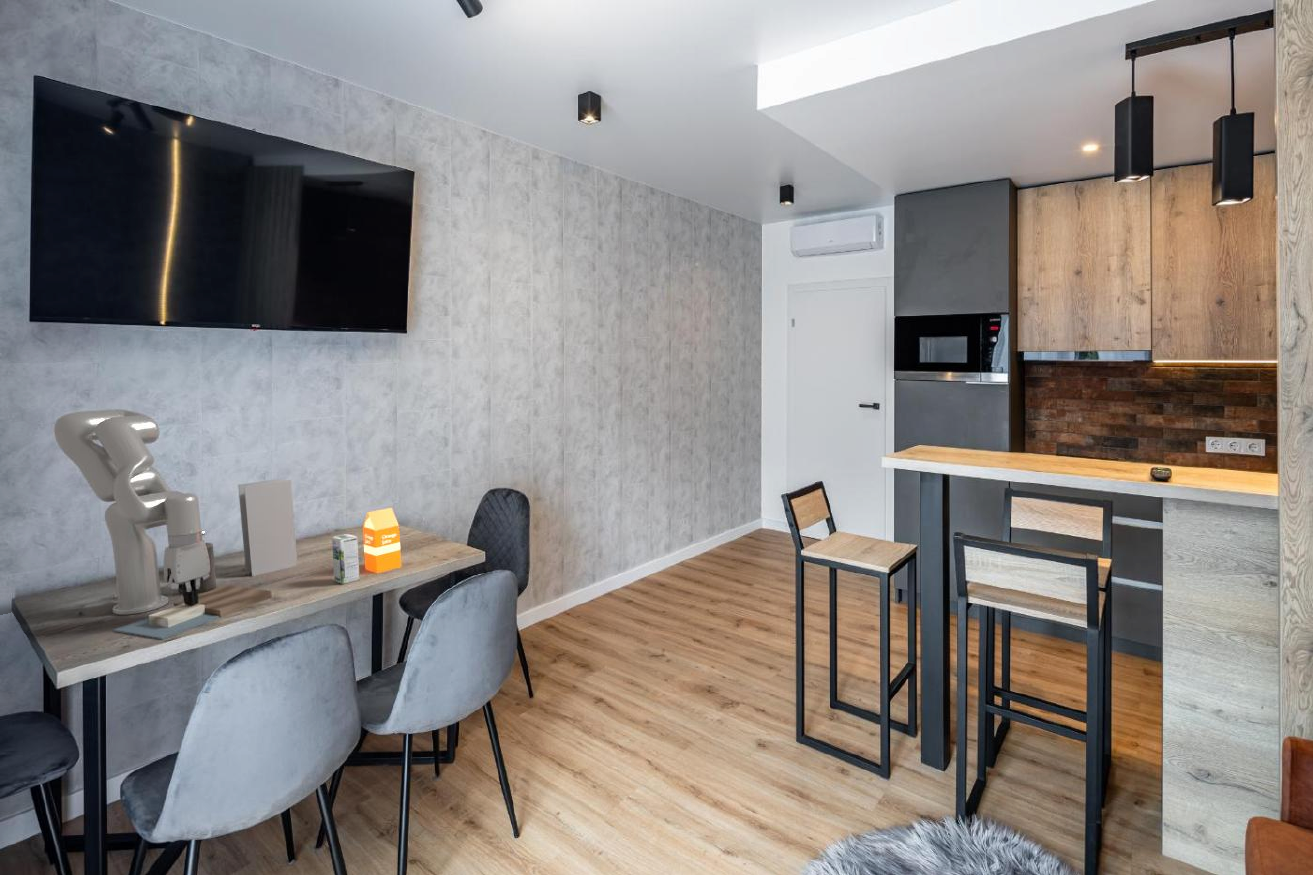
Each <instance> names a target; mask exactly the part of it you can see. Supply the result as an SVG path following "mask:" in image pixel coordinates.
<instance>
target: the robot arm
mask: <svg viewBox="0 0 1313 875" xmlns="http://www.w3.org/2000/svg"><path fill="white" fill-rule="evenodd" d="M53 428H54V429H53V430H54V431H53V432H54V437H55V441H56V442H57V445H58V447H59V448H60V449H61V451H62V452H63V453H64V455H66V456H67V457H68V458H69V460H71V461H72V462H73V463H74V464H75V466H76V467H77V468H78V469H79V471H80V473H81V475H83V477H84V478H85V480H86V482H87V483H88V486H89V487H90V488H91V489H92V491H93V493H94V495H95V496H96V497H97V498H98V499H100V500H101V501H102V502H104V503H105V502H106V503H111V502H112V503H111V504H110V505H109V506H108V507H107V508H106V510H105V511H104V521H105V524H106V527H107V530H108V533H109V536H110V540H111V545H112V551H113V559H114V569H115V575H116V576H115V577H116V587H117V593H115V594H114V595H113V598H114V599H117V601H118V603H117V604H115V605H114V606H113V608H112V613H113V614H116V615H123V616H124V615H136V614H141V613H145V612H146V613H147V612H150V611H153V610H156V609H159V608H162V607H164V606H165V605H167V603H169V597H167V596H166V595H162V592H161V583H160V581H161V580H160V574H159V573H160V572H159V563H158V555H157V553H158V552H157V546H156V543H155V541H154V539H153V538H152V537H151V536H150V535H149V534H147V533H146V531H147V530H149V529H153V528H154V529H155V528H157V527H158V528H159V527H163V526H166V533H167V543H168V546H166V547H165V550H164V554H163V579H164V583H165V582H166V583H168V585H167V588H168V589H171V590H174V589H176V590H178V589H180V590H181V591H183V594H182V598H183V600H184V603H185V604H186V605H194V604H198V595H199V593H198V589H199V588H200V584H201V583H202V581H203V580H205V579H207V578H208V577H209V576H210V575H209V572H210V561H209V555H208V551H207V547H206V544H205V543H206V541H205V540H203V536H205V535H206V532H205V530H202V526H201V525H202V524H201V523H202V522H201V514H200V503H199V502H200V501H199V497H198V495H196V494H194V493H184V492H181V491H178V490H172V489H171V487H169V485H168V484H167V483H166V481H165V479H164V478H163V476H162V474H161V473H160V472H159V470H157V469H156V468H154V467H153V464H154V462H155V458H154V456H153V454H152V453H151V451H150V450H149V449H148V447H147V445H148V444H152V443H155V442H156V441H157V440H158V439H159V437H160V433H161V432H160V427H159V425H158V423H157V422H156V421H155V420H154V419H153V418H152V417H150V416H149V415H147V414H144V413H139V412H135V411H131V410H128V409H103V410H86V411H76V412H75V411H74V412H70V413H67V414H64V415H62V416H60V417H59V418H57V419H56V421H55V423H54V427H53ZM94 441H99V442H100V444H101V445H100V444H97V443H95V442H94Z"/></svg>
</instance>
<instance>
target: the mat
mask: <svg viewBox="0 0 1313 875" xmlns="http://www.w3.org/2000/svg"><path fill="white" fill-rule="evenodd" d="M219 618H220V617H219V616H215V615H208V614H203V615H200V616H198V617H195V618H192V619H189V620H187V621H184V622H181V623H179V624H176V625H173V626H171V627H163V626H156V625H150V622H149V617H146V618H144V619H141V620H137V621H135V622H132V623H128V624H127V625H124V626H121V627H117V628H115V629H113V632H114V633H120V634H121V633H122V634H126V635H132V634H134V635H133V636H137V635H142V636H141V637H143V636H147V637H146V638H149V637H152V638H151V639H155V638H157V639H156V640H161V641H163V640H165V638H166V639H169V638H170V636H171V637H173V636H172V635H174V634H176V635H178V634H181V633H184V632H186V631H188V630H191V629H194V628H196V626H197V627H199V626H201V624H202V625H204V624H206V623H205V622H207V623H209V622H208V621H210V620H212V619H215V620H217V619H219ZM212 621H213V620H212ZM210 622H211V621H210ZM203 623H204V624H203ZM198 625H199V626H198ZM174 636H175V635H174Z"/></svg>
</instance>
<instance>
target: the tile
mask: <svg viewBox="0 0 1313 875" xmlns="http://www.w3.org/2000/svg"><path fill="white" fill-rule="evenodd" d="M203 614H205V606H204V605H202V604H194V605H186V604H185V603H183V604H180V605H177V606H174V605H173V606H172V607H169V608H166V609H164V610H160V611H158V612H155V613H152V614H149V615H148V618H149V622H150V625H156V626H163V627H171V626H173V625H176V624H179V623H181V622H184V621H187V620H189V619H192V618H195V617H198V616H200V615H203Z"/></svg>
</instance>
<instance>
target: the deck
mask: <svg viewBox="0 0 1313 875" xmlns="http://www.w3.org/2000/svg"><path fill="white" fill-rule="evenodd" d="M271 598H273V597H272V590H267V589H265V590H264V589H259V588H251V587H243V586H237V585H236V586H235V585H230V584H229V585H228V584H226V585H224V586H221V587H216V588H214V589H212V590H210V591H206V592H203V593H199V594H198V604H202V605H204V606H205V614H208V615H215V616H219V618H222V616H223V617H225V616H227V615H230V614H232V613H235V612H238V611H240V610H243V609H245V607H246V608H248V607H250V605H251V606H253V605H256V604H258V603H260V602H264V601H266V600H268V599H271ZM183 603H184V599H183V600H179V601H177V602H174V603H173V607H174V606H177V605H180V604H183Z"/></svg>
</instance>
